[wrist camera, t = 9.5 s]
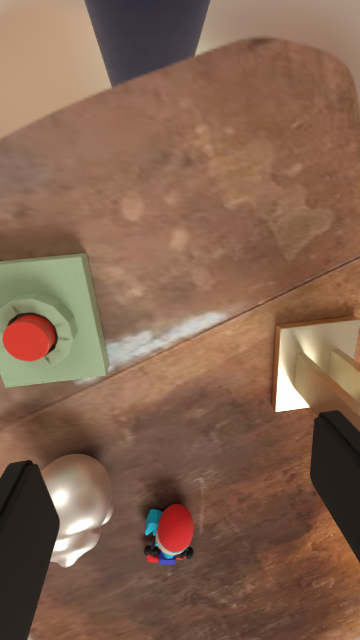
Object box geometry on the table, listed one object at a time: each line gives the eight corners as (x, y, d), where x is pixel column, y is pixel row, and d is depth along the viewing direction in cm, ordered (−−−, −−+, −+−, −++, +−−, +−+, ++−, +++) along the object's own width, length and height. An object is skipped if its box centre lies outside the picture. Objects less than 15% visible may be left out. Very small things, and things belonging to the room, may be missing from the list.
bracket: (275, 324, 30) (356, 397, 18) (354, 315, 31) (481, 380, 19) (271, 405, 34) (334, 508, 22) (340, 396, 35) (438, 491, 23)
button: (6, 316, 23) (-5, 324, 22) (49, 312, 24) (42, 319, 22) (19, 354, 25) (9, 364, 23) (60, 349, 25) (53, 358, 23)
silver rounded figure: (49, 494, 36) (14, 592, 27) (37, 438, 33) (-7, 529, 23) (119, 489, 37) (109, 582, 28) (115, 435, 34) (102, 520, 24)
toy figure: (189, 543, 45) (205, 495, 37) (190, 583, 41) (208, 538, 33) (143, 540, 45) (150, 490, 37) (138, 581, 40) (145, 534, 33)
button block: (-26, 263, 25) (-56, 272, 21) (86, 252, 26) (75, 259, 22) (15, 375, 29) (-5, 399, 26) (109, 364, 30) (103, 386, 26)
